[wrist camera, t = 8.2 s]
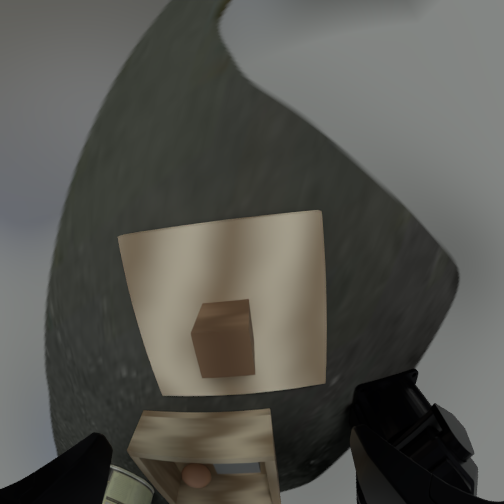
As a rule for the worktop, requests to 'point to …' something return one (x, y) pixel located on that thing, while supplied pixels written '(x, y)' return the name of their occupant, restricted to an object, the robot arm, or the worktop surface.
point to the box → (208, 455)
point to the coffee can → (126, 488)
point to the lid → (231, 303)
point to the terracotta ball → (196, 475)
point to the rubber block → (237, 468)
